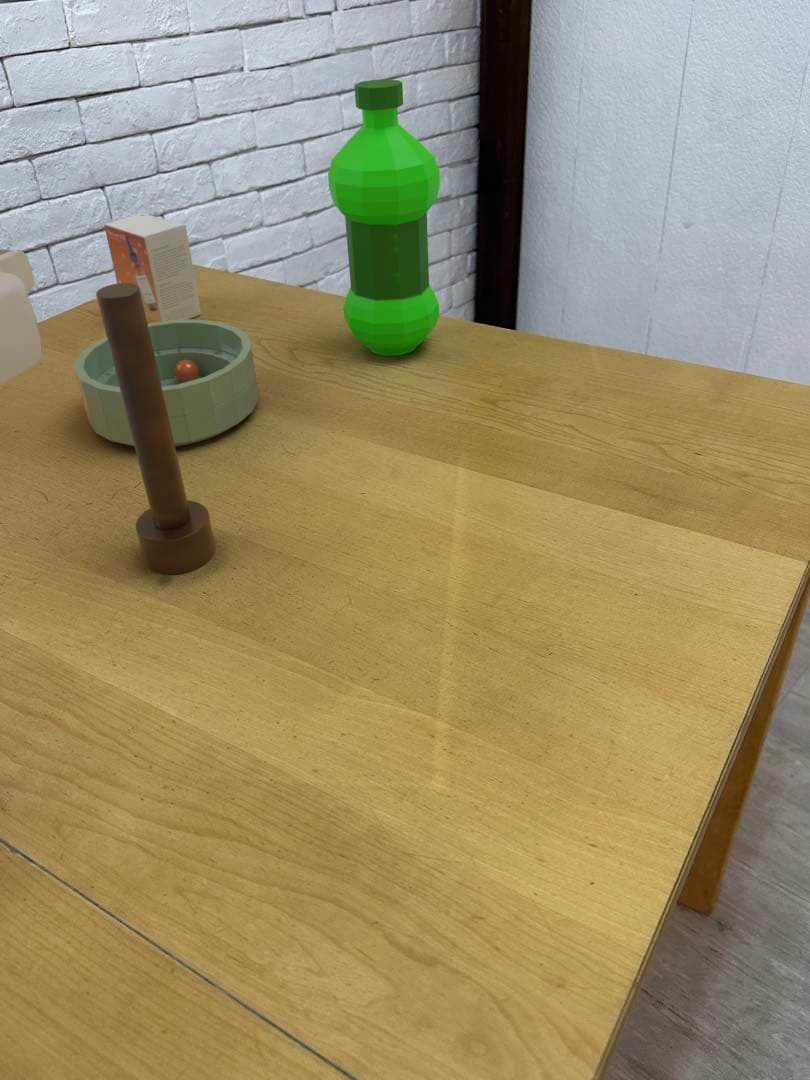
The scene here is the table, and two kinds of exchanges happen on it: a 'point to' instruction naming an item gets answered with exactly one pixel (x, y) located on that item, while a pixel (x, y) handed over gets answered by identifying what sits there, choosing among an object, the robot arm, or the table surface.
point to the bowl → (190, 405)
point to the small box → (155, 265)
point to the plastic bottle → (386, 224)
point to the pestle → (153, 440)
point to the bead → (186, 371)
